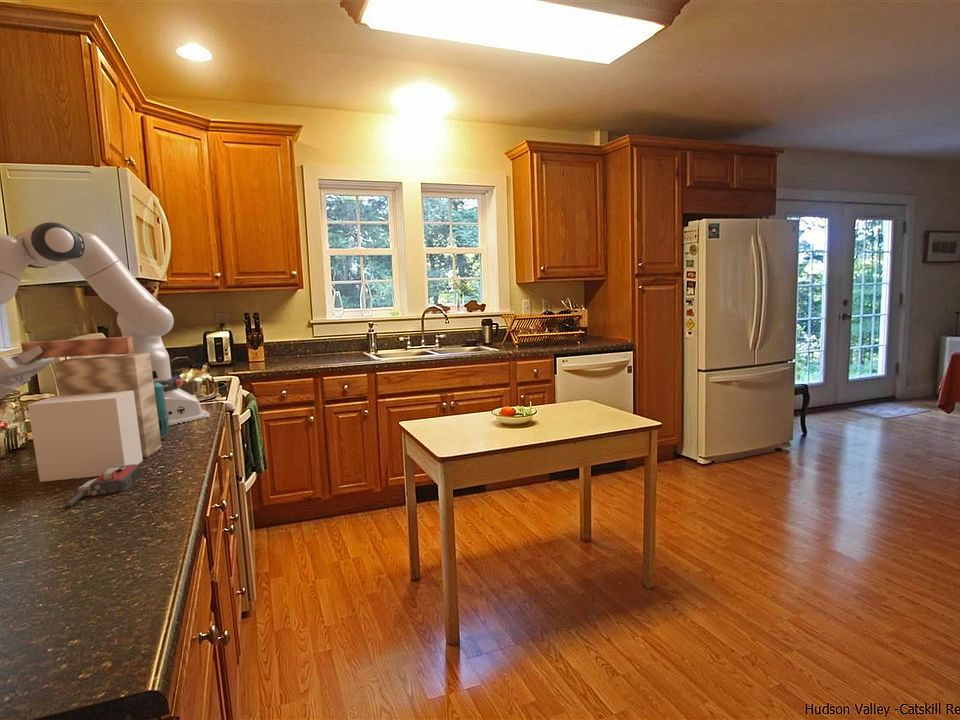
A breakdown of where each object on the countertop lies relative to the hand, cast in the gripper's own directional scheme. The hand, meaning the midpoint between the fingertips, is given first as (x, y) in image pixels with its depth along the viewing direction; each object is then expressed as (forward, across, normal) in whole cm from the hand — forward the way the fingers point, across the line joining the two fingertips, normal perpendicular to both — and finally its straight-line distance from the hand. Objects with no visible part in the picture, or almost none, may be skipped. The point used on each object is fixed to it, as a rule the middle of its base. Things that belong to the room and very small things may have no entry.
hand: (46, 347), depth 142 cm
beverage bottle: (0, +14, +34) cm, 37 cm away
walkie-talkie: (+4, -30, +37) cm, 48 cm away
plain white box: (-4, -13, +32) cm, 34 cm away
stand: (-4, 0, +32) cm, 32 cm away
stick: (+5, 0, +6) cm, 8 cm away
